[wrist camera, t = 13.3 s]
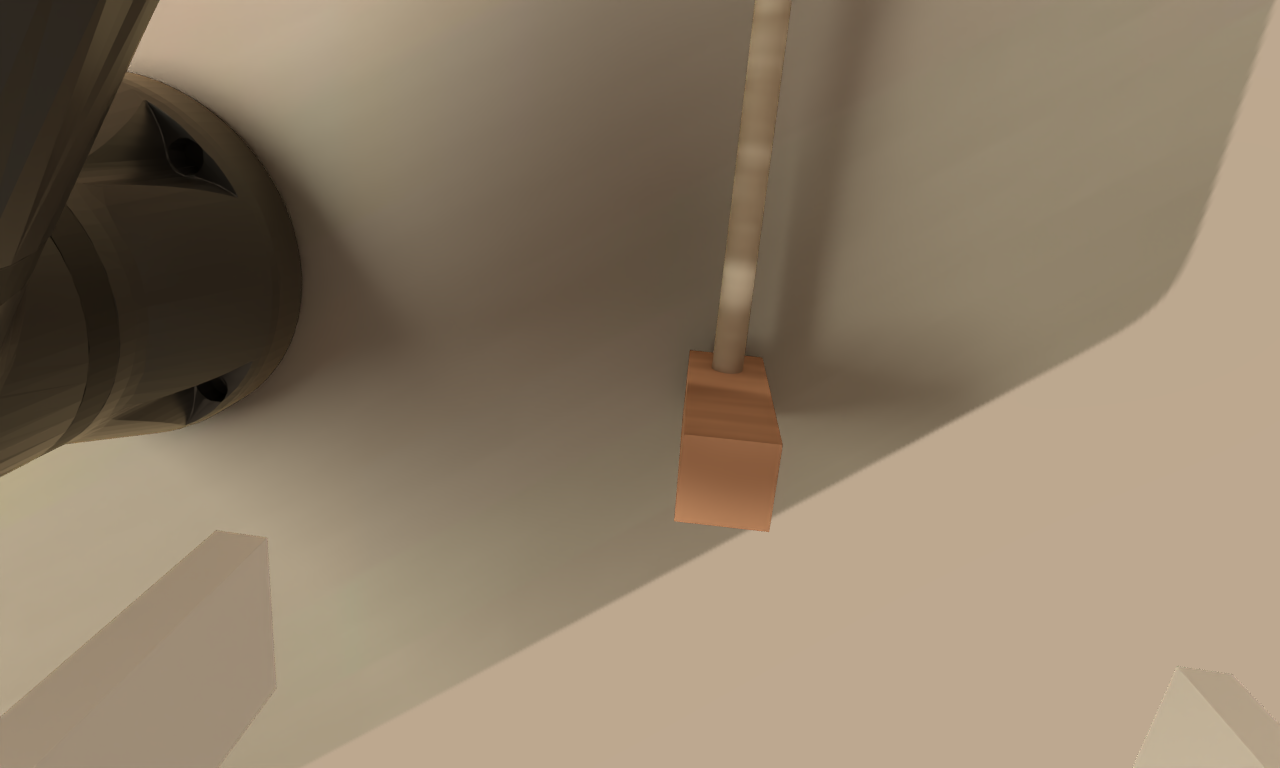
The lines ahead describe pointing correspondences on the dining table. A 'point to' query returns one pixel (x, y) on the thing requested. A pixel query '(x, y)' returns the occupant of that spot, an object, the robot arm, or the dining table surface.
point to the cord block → (738, 327)
